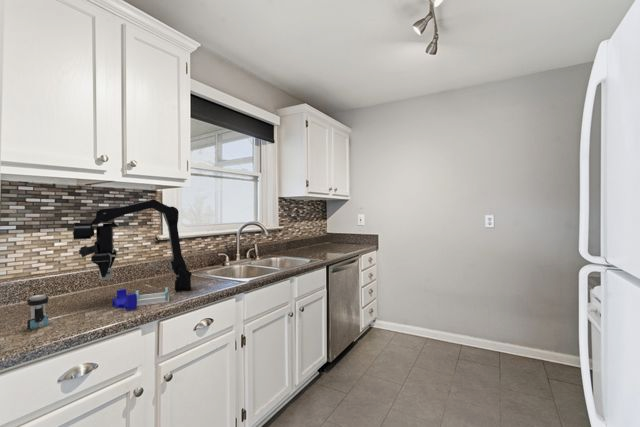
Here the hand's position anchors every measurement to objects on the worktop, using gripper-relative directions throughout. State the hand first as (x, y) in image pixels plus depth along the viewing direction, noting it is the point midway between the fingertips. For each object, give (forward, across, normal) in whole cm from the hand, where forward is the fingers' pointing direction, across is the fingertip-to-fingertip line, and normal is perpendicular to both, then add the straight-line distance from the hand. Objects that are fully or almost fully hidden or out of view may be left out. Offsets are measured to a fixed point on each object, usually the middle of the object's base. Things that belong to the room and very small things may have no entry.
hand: (105, 275), depth 129 cm
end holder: (+11, +9, +18) cm, 22 cm away
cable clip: (+11, +13, +8) cm, 19 cm away
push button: (+11, +24, -14) cm, 30 cm away
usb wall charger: (+1, 0, 0) cm, 1 cm away
